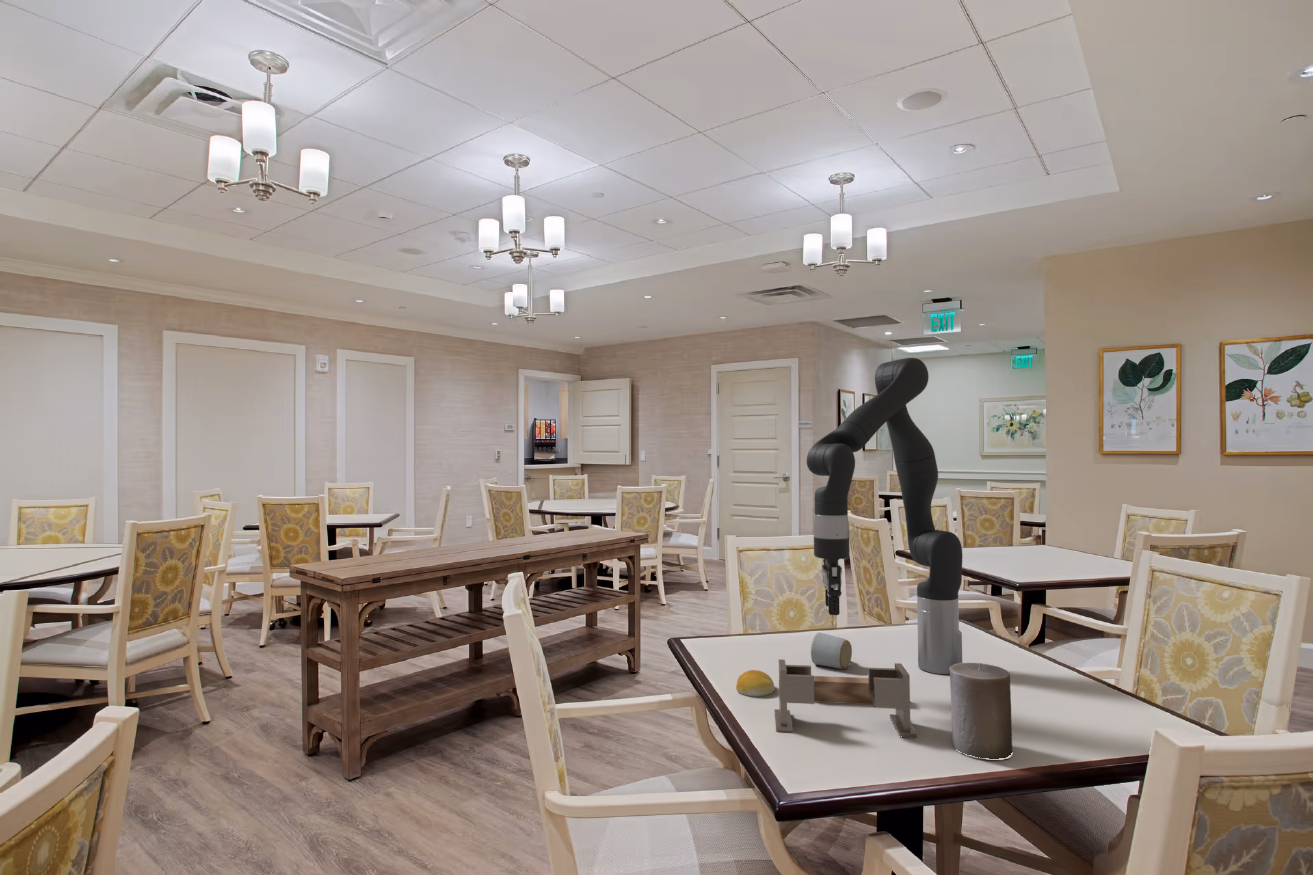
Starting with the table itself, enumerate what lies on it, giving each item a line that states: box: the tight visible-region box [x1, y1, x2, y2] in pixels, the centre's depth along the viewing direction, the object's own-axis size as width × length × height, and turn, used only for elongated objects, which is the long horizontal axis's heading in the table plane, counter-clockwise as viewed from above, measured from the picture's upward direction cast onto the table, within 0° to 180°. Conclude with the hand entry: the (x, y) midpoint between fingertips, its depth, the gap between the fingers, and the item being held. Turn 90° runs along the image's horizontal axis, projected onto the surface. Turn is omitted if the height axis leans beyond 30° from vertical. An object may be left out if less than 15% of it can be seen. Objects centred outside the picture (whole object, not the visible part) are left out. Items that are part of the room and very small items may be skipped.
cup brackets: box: [774, 658, 918, 739], centre depth 130 cm, size 25×9×11 cm, turn 82°
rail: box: [813, 675, 874, 705], centre depth 143 cm, size 18×4×4 cm, turn 82°
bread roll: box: [735, 669, 775, 698], centre depth 150 cm, size 8×9×4 cm
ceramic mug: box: [810, 632, 853, 670], centre depth 167 cm, size 11×8×8 cm
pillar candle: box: [949, 662, 1014, 759], centre depth 119 cm, size 10×10×15 cm
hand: (832, 610), depth 148 cm, fingers open, 8 cm apart
